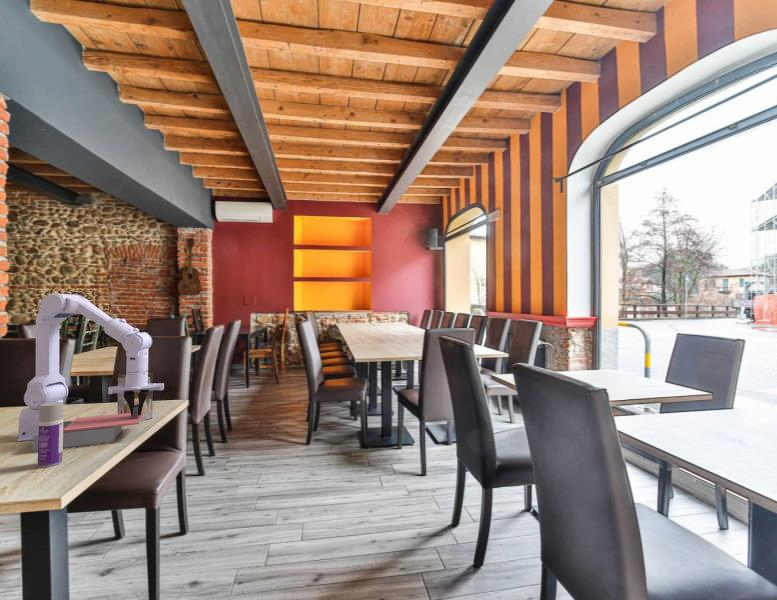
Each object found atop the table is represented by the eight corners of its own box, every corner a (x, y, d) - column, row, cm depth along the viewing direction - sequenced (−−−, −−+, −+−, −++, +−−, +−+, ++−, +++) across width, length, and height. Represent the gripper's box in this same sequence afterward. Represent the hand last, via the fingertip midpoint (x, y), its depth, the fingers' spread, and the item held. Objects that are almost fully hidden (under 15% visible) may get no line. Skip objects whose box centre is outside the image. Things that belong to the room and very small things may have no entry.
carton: (32, 452, 105) (33, 435, 105) (50, 437, 118) (51, 422, 118) (112, 443, 113) (113, 427, 113) (121, 429, 125) (122, 415, 126)
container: (34, 469, 94) (36, 406, 95) (40, 462, 98) (42, 402, 99) (59, 465, 96) (61, 404, 97) (64, 459, 100) (66, 400, 101)
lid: (62, 432, 108) (62, 417, 108) (76, 419, 121) (77, 406, 121) (138, 424, 116) (138, 410, 116) (144, 413, 128) (145, 400, 128)
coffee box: (145, 415, 143) (146, 371, 143) (152, 418, 139) (153, 373, 139) (116, 421, 135) (117, 374, 136) (123, 424, 132) (124, 376, 132)
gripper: (106, 374, 115) (105, 420, 115) (162, 371, 121) (161, 415, 121) (111, 371, 121) (110, 415, 121) (164, 368, 128) (163, 410, 127)
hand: (136, 414), depth 121 cm, fingers closed on lid
